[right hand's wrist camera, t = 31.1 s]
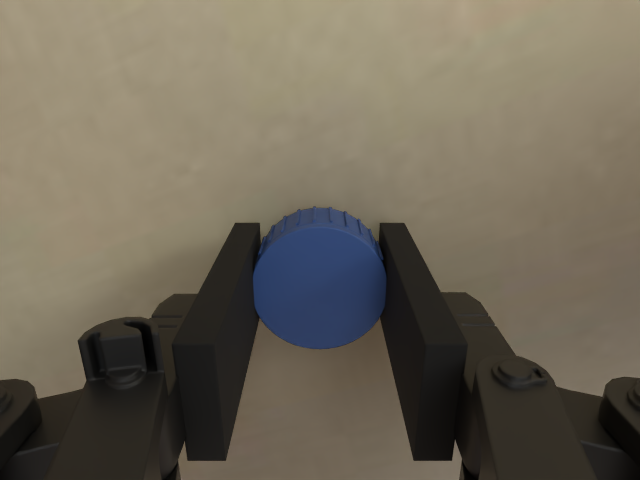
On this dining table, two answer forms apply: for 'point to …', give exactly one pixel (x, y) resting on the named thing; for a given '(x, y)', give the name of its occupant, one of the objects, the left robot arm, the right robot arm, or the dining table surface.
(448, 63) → the dining table surface
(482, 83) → the dining table surface
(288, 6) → the dining table surface
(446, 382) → the right robot arm
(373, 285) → the cap
